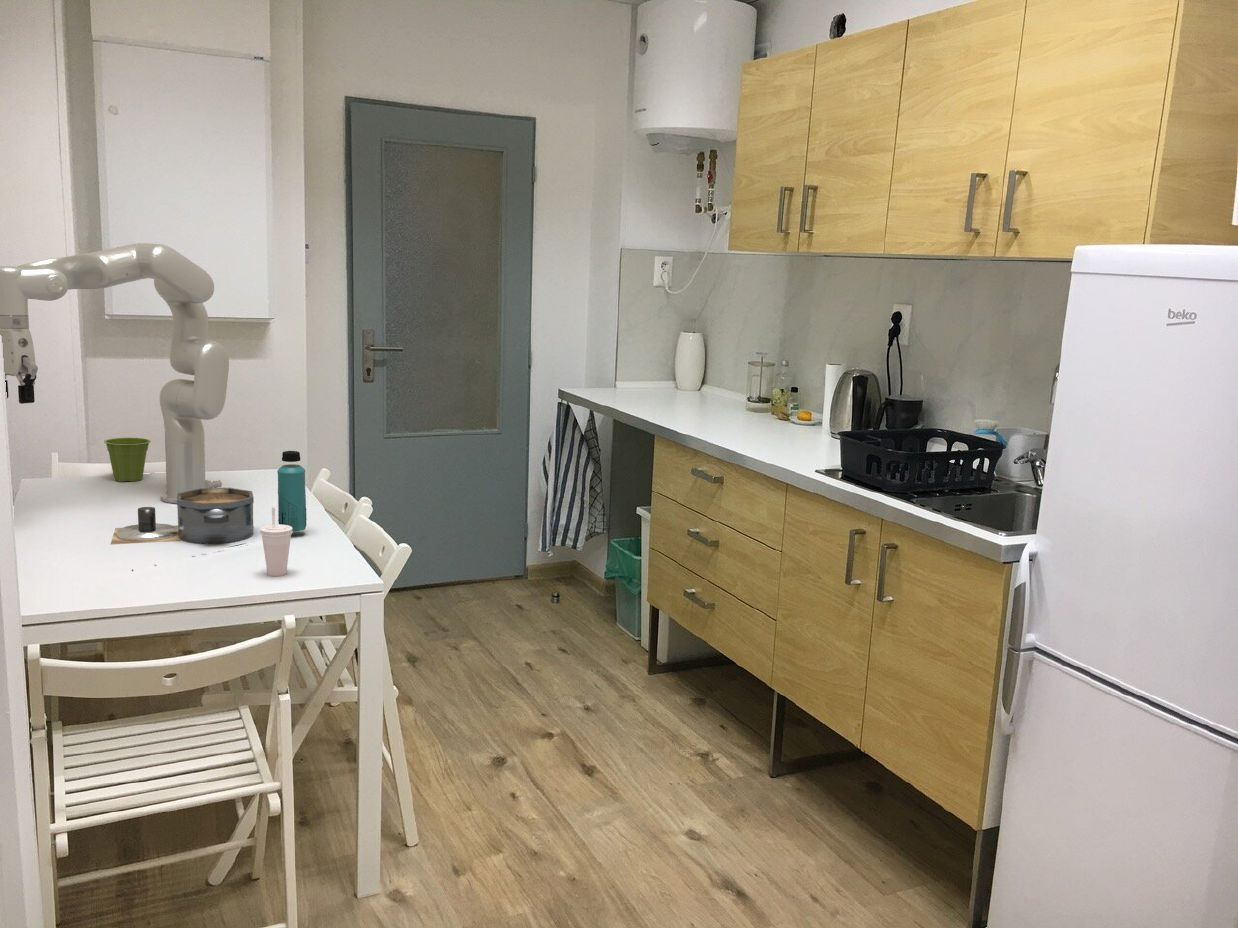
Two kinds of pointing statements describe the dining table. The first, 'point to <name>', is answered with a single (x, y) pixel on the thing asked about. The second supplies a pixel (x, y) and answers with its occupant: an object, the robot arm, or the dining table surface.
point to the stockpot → (215, 515)
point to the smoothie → (276, 546)
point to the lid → (146, 528)
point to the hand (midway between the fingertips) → (13, 400)
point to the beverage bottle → (292, 493)
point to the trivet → (118, 541)
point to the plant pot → (127, 457)
